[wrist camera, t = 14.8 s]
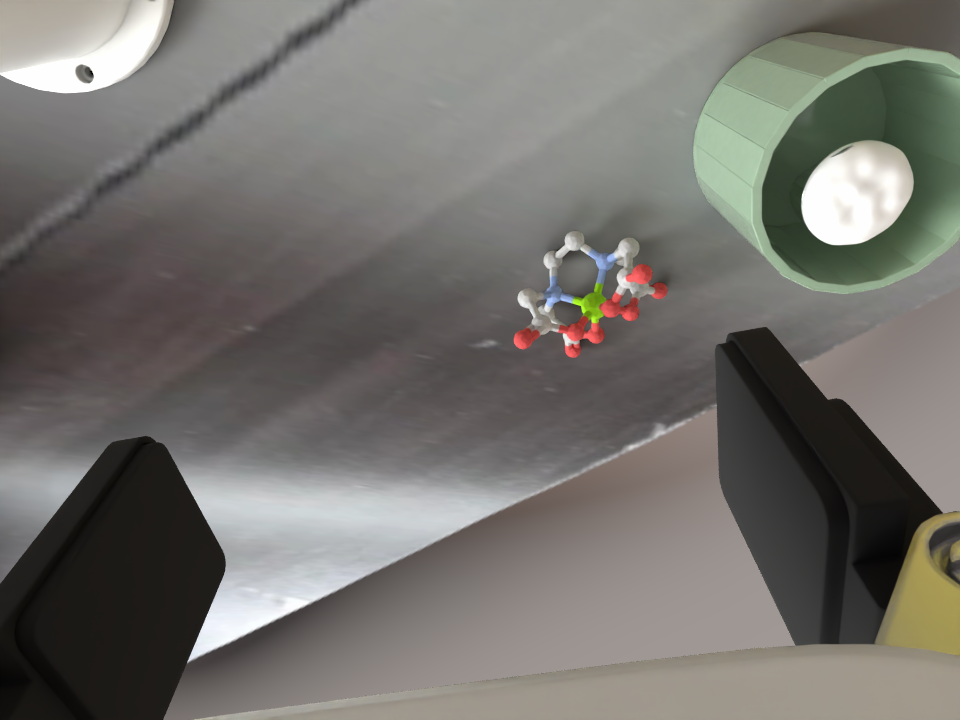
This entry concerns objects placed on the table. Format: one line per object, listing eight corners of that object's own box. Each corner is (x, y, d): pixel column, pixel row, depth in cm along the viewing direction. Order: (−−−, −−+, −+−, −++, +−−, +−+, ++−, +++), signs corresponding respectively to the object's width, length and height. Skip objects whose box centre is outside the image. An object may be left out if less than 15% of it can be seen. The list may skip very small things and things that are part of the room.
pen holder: (688, 56, 34) (751, 80, 26) (897, 11, 33) (1028, 21, 25) (696, 244, 39) (751, 311, 31) (878, 210, 38) (982, 270, 30)
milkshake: (796, 75, 34) (906, 109, 25) (839, 159, 36) (955, 216, 27) (716, 133, 35) (795, 184, 27) (763, 210, 38) (849, 281, 29)
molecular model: (494, 278, 40) (499, 335, 34) (604, 194, 38) (632, 238, 31) (565, 358, 43) (582, 426, 36) (672, 285, 40) (710, 343, 34)
